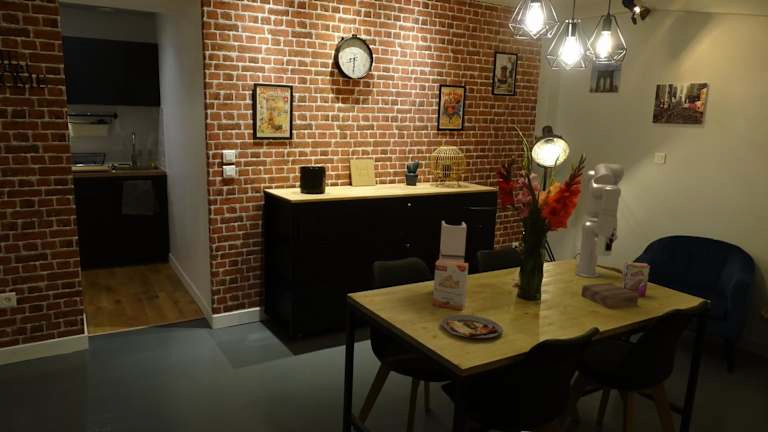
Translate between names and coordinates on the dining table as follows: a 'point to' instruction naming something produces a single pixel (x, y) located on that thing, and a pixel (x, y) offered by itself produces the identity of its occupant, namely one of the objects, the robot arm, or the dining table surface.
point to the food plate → (471, 326)
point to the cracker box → (450, 284)
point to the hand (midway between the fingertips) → (604, 249)
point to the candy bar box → (635, 277)
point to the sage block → (602, 246)
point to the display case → (453, 242)
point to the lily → (516, 280)
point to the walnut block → (609, 295)
